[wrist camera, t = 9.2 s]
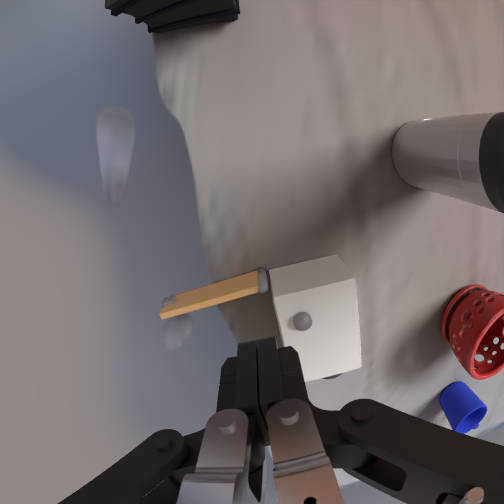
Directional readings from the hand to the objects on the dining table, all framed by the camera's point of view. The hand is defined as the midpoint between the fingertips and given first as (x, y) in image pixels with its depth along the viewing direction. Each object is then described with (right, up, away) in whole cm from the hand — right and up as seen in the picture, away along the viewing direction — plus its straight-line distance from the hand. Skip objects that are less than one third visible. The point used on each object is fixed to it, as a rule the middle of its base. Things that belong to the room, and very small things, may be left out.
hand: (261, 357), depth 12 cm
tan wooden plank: (-5, 0, +28) cm, 29 cm away
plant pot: (+36, -6, +31) cm, 48 cm away
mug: (+43, -27, +38) cm, 63 cm away
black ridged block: (-9, +34, +18) cm, 39 cm away
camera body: (+8, -3, +29) cm, 30 cm away
